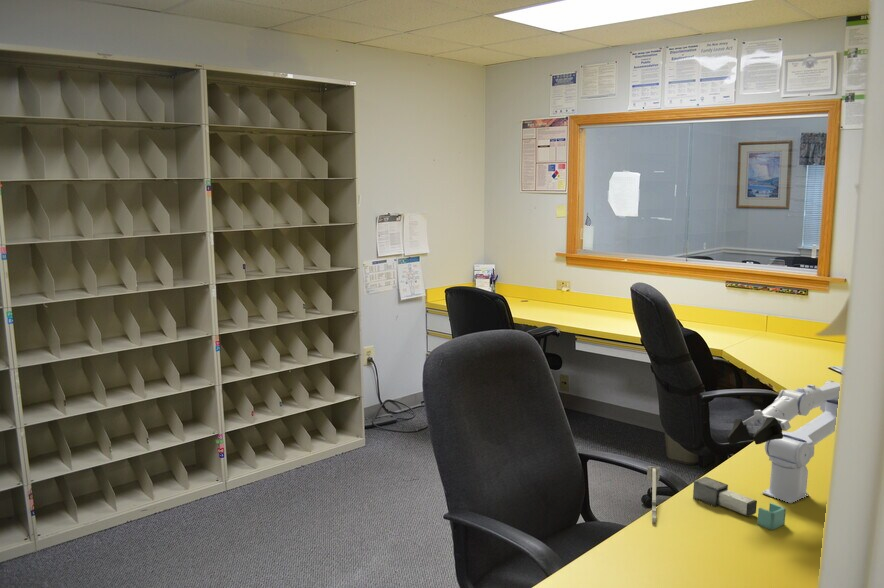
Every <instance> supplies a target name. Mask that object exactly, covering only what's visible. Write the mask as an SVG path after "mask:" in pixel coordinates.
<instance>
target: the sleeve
mask: <svg viewBox="0 0 884 588" xmlns="http://www.w3.org/2000/svg"><path fill="white" fill-rule="evenodd" d="M723 488H724V489H727V490H729V484H727V483H723V482H721V481H718V480H716V479H713V478H710V477H707V476H704V477H701V478H698V479H695V480H693V491H692V499H694V498H695V499H694V500H696V499H697V501H699V500H700V502H701V501H702V503H704V504H706V505H709V506H711V505H712V507H713V508H716V506H717V507H719V506H720V505H719V504H717V491H718V490H721V489H723ZM718 505H719V506H718Z"/></svg>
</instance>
